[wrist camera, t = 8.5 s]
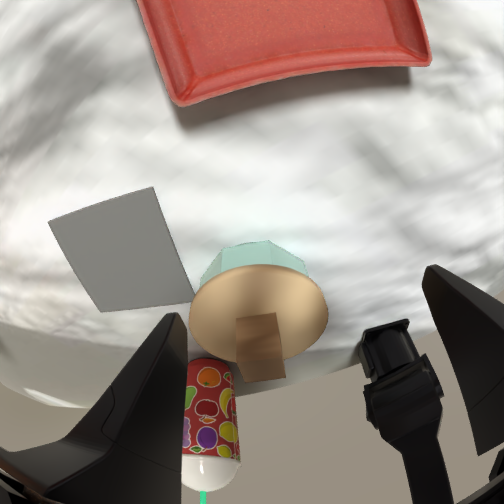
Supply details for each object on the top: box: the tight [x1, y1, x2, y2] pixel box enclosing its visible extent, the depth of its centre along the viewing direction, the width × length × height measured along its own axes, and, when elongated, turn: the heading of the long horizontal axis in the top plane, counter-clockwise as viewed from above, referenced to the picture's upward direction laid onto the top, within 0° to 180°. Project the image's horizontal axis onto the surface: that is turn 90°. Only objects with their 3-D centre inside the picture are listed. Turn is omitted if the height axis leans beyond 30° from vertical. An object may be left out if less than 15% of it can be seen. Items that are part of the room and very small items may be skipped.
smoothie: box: [181, 359, 241, 504], centre depth 26 cm, size 8×8×20 cm
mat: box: [48, 187, 195, 312], centre depth 23 cm, size 12×12×1 cm
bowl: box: [199, 240, 309, 289], centre depth 23 cm, size 9×9×4 cm
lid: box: [189, 264, 328, 383], centre depth 20 cm, size 11×11×5 cm
